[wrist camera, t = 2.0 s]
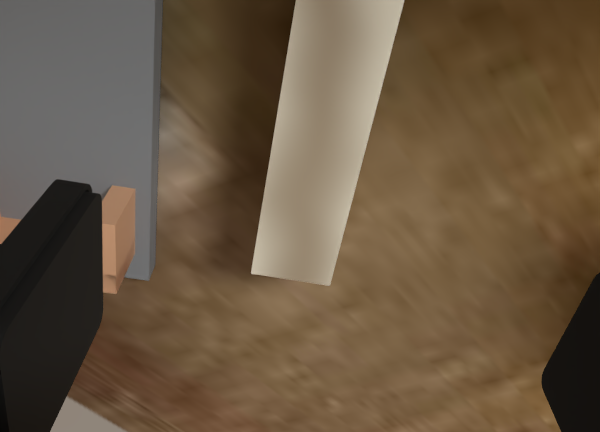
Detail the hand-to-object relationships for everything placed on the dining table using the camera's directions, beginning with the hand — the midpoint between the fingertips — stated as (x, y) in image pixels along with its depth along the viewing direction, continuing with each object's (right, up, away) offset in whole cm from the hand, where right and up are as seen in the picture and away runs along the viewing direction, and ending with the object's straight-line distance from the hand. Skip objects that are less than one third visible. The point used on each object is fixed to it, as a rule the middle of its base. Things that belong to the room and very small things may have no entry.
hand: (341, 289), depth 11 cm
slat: (+1, +10, +16) cm, 19 cm away
